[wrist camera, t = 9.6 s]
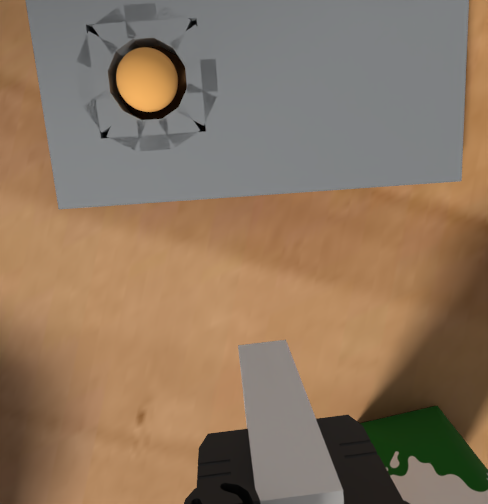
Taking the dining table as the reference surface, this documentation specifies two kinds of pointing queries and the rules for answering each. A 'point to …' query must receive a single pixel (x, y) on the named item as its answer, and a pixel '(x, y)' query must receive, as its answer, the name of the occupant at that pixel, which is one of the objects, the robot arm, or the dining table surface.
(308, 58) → the plate
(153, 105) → the ball
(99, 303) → the dining table surface
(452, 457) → the milk carton
